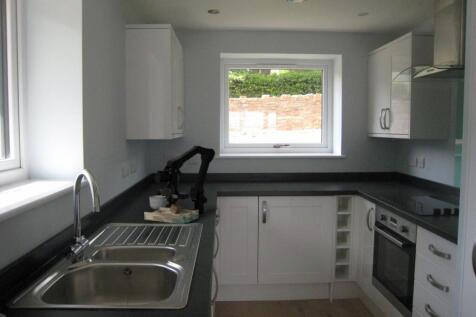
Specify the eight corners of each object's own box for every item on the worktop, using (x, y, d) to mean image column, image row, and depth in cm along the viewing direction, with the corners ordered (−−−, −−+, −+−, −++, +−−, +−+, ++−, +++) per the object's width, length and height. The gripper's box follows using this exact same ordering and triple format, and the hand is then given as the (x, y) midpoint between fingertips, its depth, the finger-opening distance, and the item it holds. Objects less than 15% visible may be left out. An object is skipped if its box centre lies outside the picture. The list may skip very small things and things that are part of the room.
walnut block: (173, 208, 214) (176, 203, 213) (178, 212, 213) (181, 207, 211) (169, 210, 211) (172, 204, 209) (174, 214, 209) (177, 208, 208)
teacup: (149, 211, 229) (149, 198, 228) (149, 207, 240) (148, 195, 239) (172, 209, 233) (172, 196, 232) (171, 206, 243) (171, 193, 243)
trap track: (160, 213, 222) (160, 206, 221) (198, 217, 211) (198, 209, 211) (144, 219, 208) (144, 211, 208) (184, 224, 197) (184, 215, 197)
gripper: (150, 181, 208) (149, 209, 209) (178, 185, 200) (177, 214, 201) (163, 179, 218) (161, 206, 219) (190, 183, 210) (188, 210, 211)
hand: (171, 209), depth 212 cm, fingers closed, pressing on walnut block
